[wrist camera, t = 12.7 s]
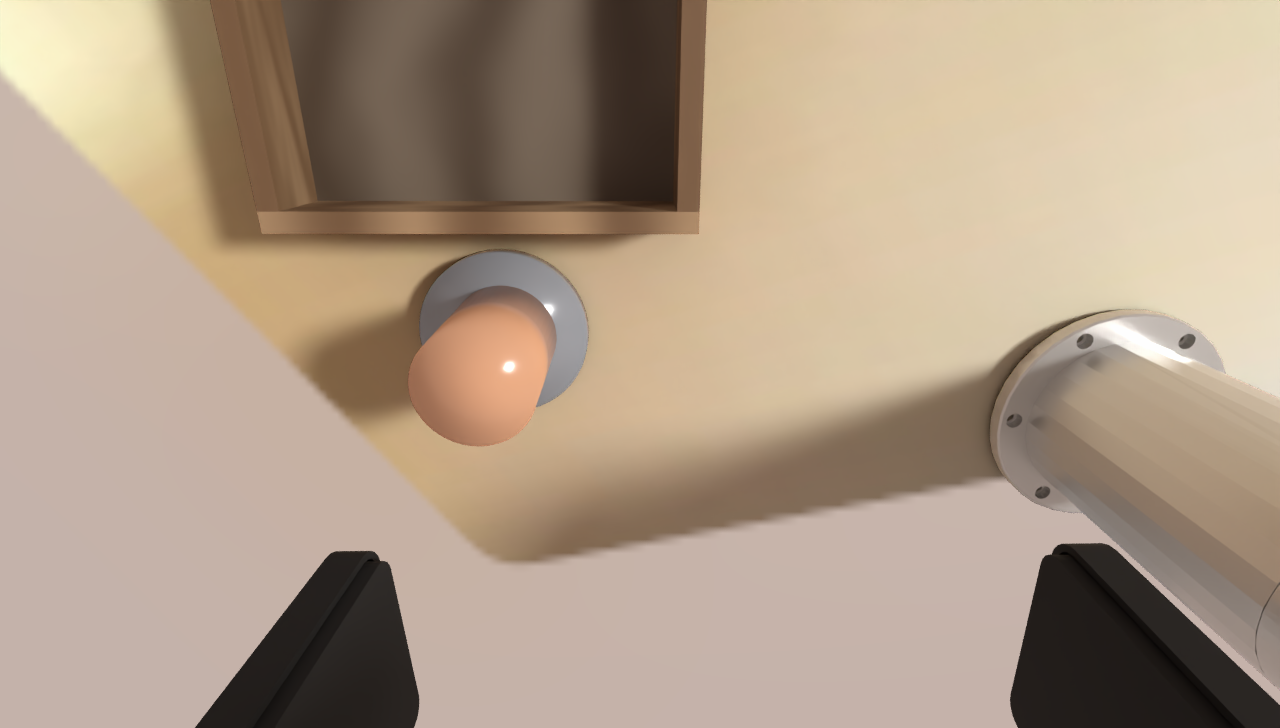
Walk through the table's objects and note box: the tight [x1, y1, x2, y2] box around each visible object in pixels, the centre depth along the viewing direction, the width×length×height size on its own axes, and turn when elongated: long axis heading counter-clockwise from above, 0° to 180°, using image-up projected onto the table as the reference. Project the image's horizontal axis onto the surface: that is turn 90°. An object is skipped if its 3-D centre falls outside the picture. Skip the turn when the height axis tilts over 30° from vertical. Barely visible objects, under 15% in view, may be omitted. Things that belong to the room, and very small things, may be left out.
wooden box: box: [210, 0, 707, 234], centre depth 28 cm, size 20×16×4 cm
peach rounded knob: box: [408, 285, 557, 446], centre depth 31 cm, size 6×6×7 cm
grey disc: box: [419, 249, 589, 407], centre depth 34 cm, size 9×9×1 cm
